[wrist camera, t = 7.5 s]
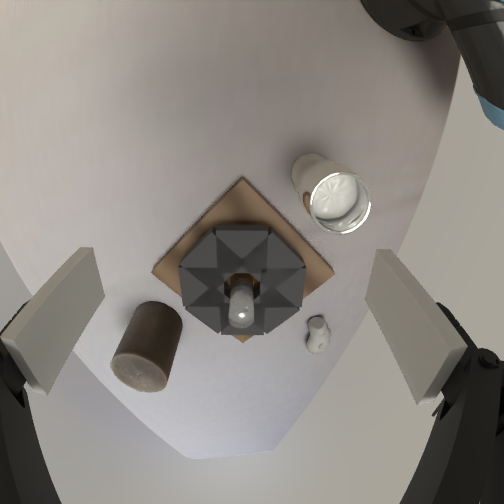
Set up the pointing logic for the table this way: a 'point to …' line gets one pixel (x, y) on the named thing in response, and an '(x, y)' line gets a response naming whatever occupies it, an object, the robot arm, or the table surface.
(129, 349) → the pillar candle
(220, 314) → the dark grey faceted disc
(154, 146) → the table surface
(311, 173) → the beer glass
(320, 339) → the smooth white sculpture
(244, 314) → the steel post
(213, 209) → the walnut base
